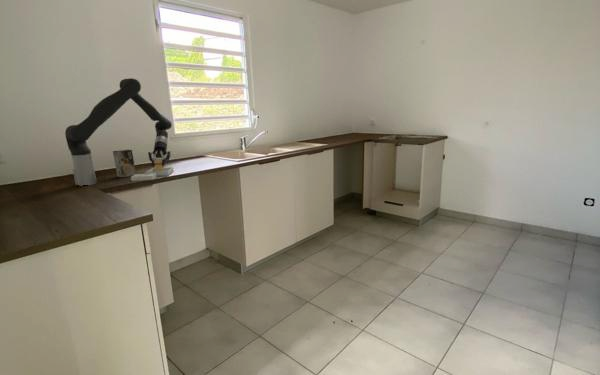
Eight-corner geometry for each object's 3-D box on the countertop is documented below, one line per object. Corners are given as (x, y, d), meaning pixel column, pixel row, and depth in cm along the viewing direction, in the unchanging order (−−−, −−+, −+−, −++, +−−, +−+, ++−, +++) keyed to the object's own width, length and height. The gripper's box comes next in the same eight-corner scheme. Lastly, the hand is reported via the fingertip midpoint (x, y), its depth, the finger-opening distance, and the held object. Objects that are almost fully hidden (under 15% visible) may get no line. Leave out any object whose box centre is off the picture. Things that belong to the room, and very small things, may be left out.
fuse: (155, 172, 204) (153, 159, 202) (156, 171, 206) (154, 159, 204) (163, 171, 205) (161, 159, 203) (164, 171, 207) (162, 158, 205)
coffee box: (131, 173, 211) (127, 149, 207) (136, 174, 207) (132, 149, 203) (116, 176, 204) (112, 151, 200) (121, 177, 200) (117, 151, 196)
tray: (146, 177, 199) (145, 172, 198) (152, 172, 211) (152, 168, 211) (168, 175, 200) (167, 171, 200) (173, 171, 213) (173, 167, 212)
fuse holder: (131, 180, 190) (130, 176, 189) (135, 178, 196) (135, 174, 196) (152, 179, 191) (152, 175, 190) (156, 177, 198) (155, 173, 197)
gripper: (147, 141, 207) (144, 163, 199) (170, 140, 209) (168, 161, 200) (151, 148, 214) (148, 169, 205) (173, 147, 215) (171, 168, 207)
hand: (158, 165), depth 203 cm, fingers closed on fuse, 5 cm apart
